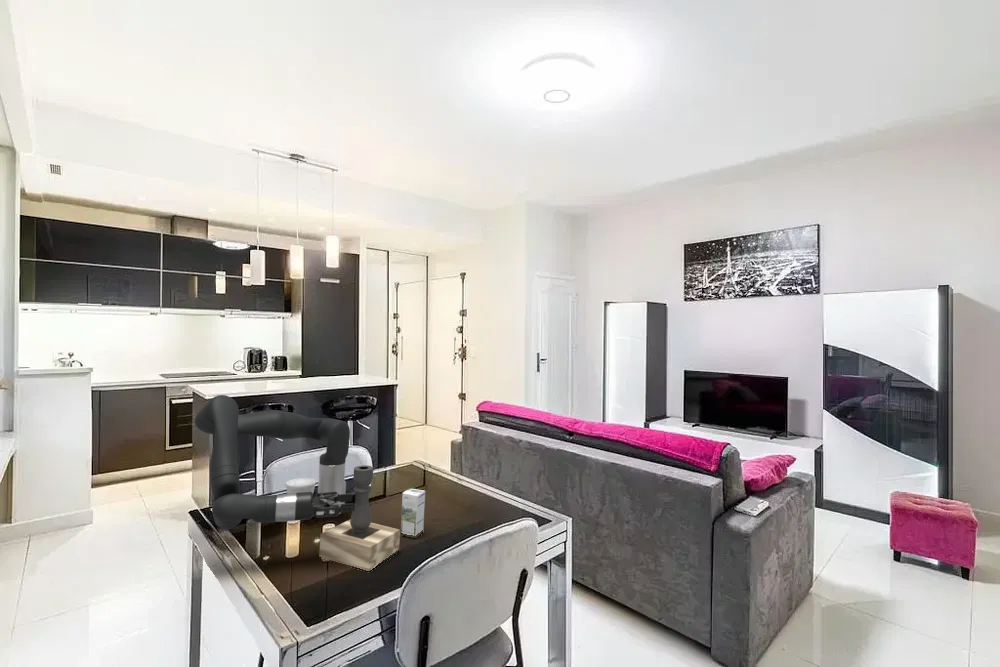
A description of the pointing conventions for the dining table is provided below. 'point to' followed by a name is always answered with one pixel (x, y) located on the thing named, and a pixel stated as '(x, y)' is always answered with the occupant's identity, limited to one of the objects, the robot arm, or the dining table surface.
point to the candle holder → (361, 501)
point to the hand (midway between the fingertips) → (353, 502)
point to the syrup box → (412, 511)
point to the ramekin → (301, 485)
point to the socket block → (359, 545)
